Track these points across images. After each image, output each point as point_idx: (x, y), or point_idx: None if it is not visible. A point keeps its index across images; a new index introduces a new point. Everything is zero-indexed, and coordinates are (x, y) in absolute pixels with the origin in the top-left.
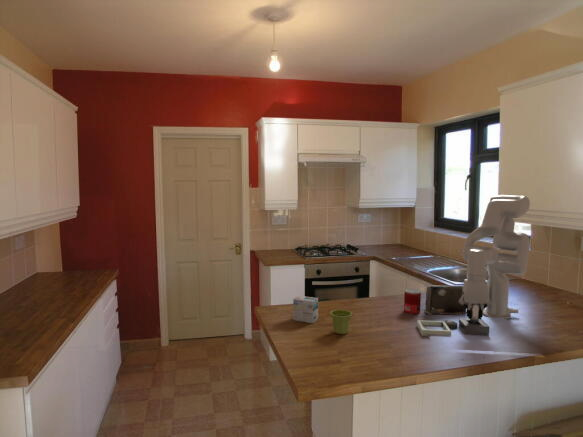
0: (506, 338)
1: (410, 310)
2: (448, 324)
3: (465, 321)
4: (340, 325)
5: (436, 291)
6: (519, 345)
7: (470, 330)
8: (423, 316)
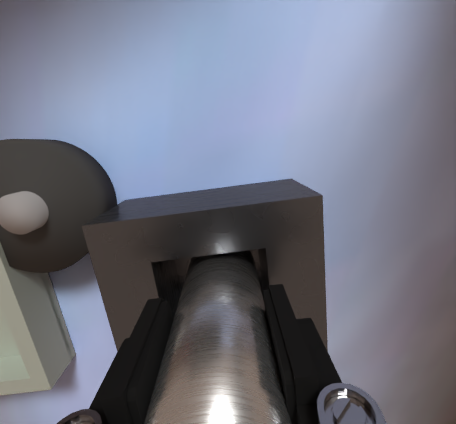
0: (407, 289)
1: None
2: (25, 246)
3: (141, 301)
4: None
5: None
6: (434, 367)
7: None
8: None
